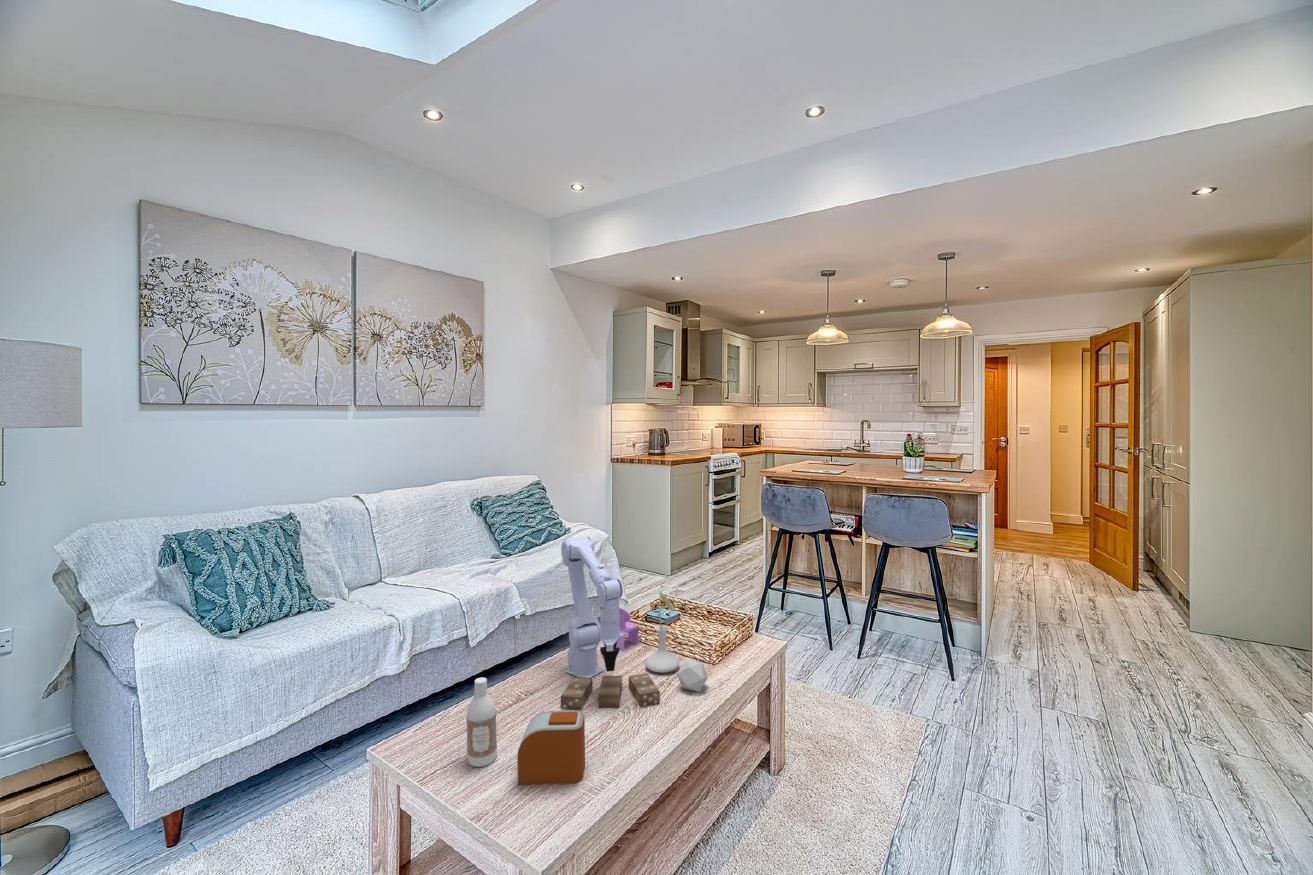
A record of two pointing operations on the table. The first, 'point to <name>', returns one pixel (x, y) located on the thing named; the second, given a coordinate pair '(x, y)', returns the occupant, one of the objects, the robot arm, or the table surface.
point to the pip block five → (644, 690)
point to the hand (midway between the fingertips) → (610, 664)
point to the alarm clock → (553, 749)
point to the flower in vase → (662, 647)
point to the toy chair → (627, 629)
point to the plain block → (610, 692)
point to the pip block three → (576, 693)
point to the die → (692, 675)
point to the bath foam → (481, 727)
